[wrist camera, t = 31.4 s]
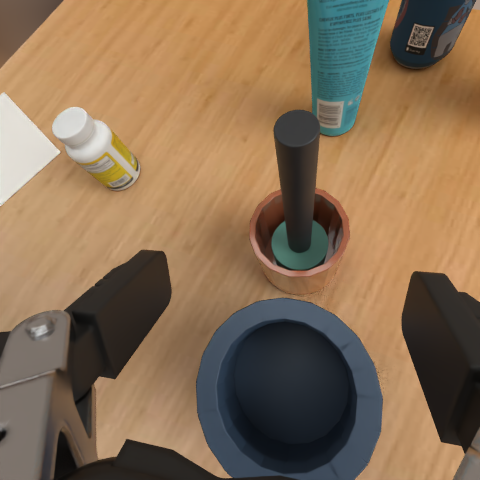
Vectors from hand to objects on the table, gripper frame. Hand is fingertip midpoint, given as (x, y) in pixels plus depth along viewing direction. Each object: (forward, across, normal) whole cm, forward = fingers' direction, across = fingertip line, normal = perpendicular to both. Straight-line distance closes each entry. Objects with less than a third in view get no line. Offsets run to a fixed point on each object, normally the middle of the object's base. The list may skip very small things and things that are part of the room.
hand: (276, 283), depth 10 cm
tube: (+32, -3, -3) cm, 32 cm away
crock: (+20, 0, +10) cm, 22 cm away
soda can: (+39, -13, -10) cm, 42 cm away
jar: (+12, 0, +18) cm, 21 cm away
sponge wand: (+19, 0, +9) cm, 21 cm away
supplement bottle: (+27, +24, +3) cm, 36 cm away
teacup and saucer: (+28, +48, +2) cm, 56 cm away
